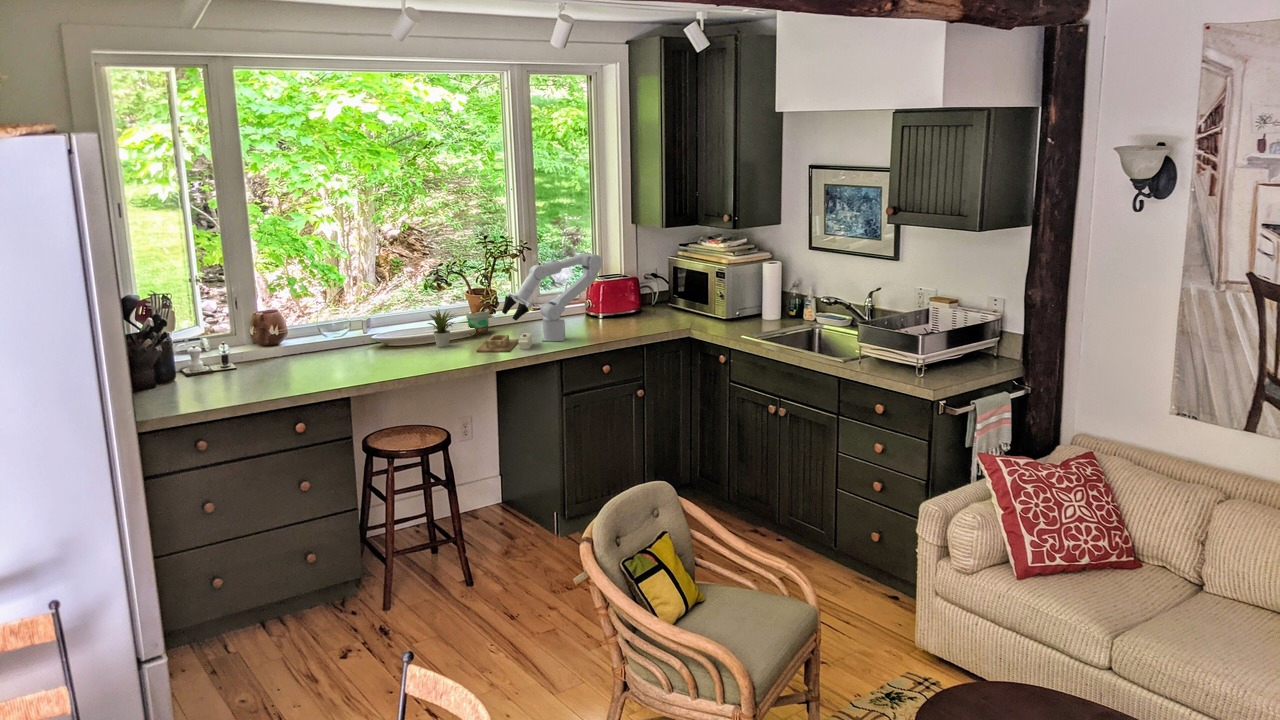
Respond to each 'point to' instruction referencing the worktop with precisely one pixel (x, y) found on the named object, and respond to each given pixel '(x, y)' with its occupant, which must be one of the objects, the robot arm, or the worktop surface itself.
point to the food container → (479, 321)
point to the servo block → (525, 341)
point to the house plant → (442, 328)
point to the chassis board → (498, 344)
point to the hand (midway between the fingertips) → (508, 316)
